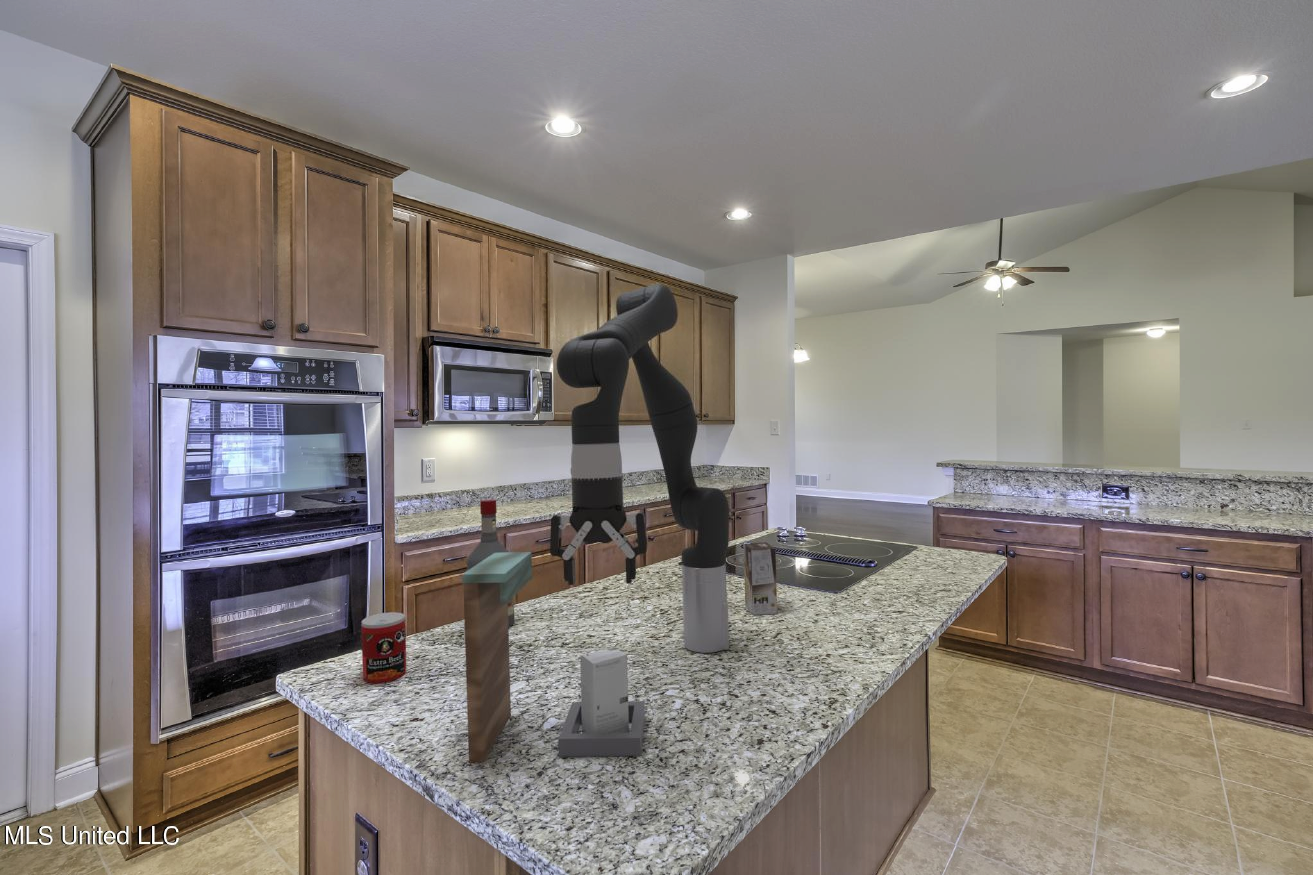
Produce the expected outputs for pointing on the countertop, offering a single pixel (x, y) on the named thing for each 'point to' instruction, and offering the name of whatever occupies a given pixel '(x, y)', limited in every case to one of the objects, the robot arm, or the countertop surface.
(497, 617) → the awning stand
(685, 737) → the countertop surface
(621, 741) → the socket
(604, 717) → the skincare box
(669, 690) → the countertop surface
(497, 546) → the liquor
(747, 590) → the coffee box
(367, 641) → the canned food
